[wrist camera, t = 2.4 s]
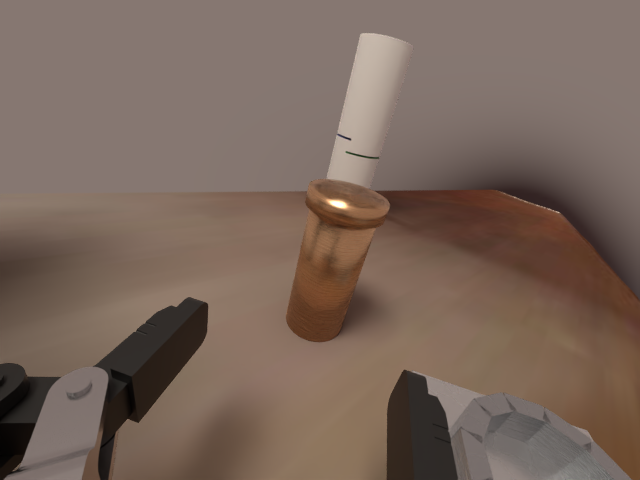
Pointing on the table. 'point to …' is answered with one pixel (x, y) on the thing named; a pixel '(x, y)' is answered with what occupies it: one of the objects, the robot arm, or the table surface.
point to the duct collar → (517, 439)
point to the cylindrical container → (368, 107)
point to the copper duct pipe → (332, 255)
